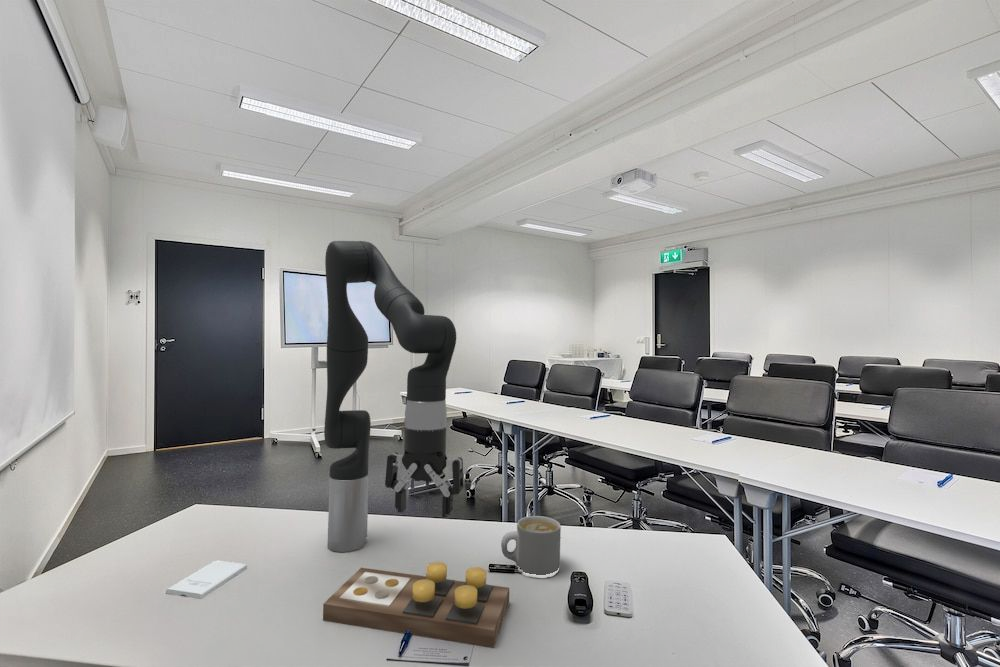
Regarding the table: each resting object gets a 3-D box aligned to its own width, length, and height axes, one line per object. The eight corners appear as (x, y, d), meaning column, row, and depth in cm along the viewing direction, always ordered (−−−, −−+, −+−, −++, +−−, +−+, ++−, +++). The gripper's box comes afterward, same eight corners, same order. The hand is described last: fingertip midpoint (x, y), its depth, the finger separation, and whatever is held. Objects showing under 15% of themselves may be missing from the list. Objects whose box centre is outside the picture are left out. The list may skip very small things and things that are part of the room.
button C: (468, 576, 94) (468, 566, 94) (488, 578, 93) (488, 568, 93) (462, 586, 90) (463, 575, 90) (483, 589, 89) (483, 578, 89)
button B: (417, 588, 89) (417, 578, 89) (437, 591, 88) (437, 580, 88) (409, 600, 85) (409, 589, 85) (430, 603, 84) (430, 592, 84)
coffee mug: (558, 558, 113) (559, 516, 113) (561, 580, 103) (562, 534, 103) (502, 555, 114) (503, 514, 114) (499, 576, 104) (500, 531, 104)
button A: (430, 571, 95) (430, 561, 95) (449, 573, 95) (449, 563, 95) (423, 580, 92) (423, 570, 92) (442, 583, 91) (443, 573, 91)
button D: (458, 594, 87) (458, 583, 87) (479, 597, 86) (479, 586, 86) (451, 606, 83) (452, 595, 83) (473, 610, 82) (474, 598, 82)
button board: (360, 581, 100) (361, 565, 100) (509, 602, 94) (509, 585, 94) (322, 620, 86) (323, 601, 86) (493, 648, 80) (494, 627, 80)
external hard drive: (246, 571, 105) (200, 601, 92) (214, 567, 106) (165, 596, 94) (246, 564, 105) (201, 593, 92) (214, 559, 106) (165, 587, 94)
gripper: (469, 423, 88) (466, 510, 88) (398, 418, 91) (395, 502, 91) (456, 430, 81) (454, 525, 81) (380, 425, 84) (377, 517, 84)
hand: (423, 513), depth 86 cm, fingers open, 8 cm apart
